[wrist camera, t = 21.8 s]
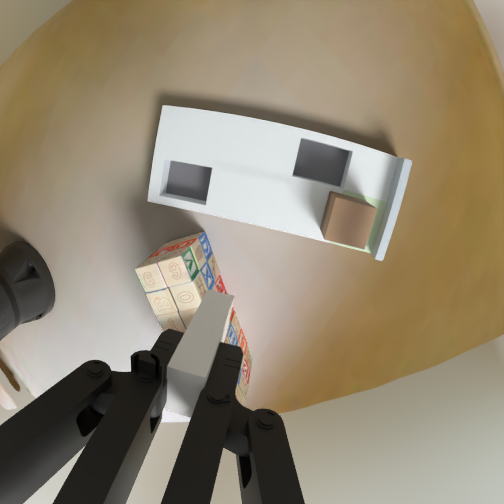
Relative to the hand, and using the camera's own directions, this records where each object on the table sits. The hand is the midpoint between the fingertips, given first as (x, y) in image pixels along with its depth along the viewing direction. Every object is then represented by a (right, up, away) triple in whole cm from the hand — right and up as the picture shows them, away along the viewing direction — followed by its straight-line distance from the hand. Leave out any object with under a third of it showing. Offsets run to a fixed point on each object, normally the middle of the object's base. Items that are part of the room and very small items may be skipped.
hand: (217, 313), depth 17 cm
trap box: (+5, +13, +19) cm, 23 cm away
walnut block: (+12, +8, +17) cm, 22 cm away
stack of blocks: (-4, -4, +26) cm, 27 cm away
